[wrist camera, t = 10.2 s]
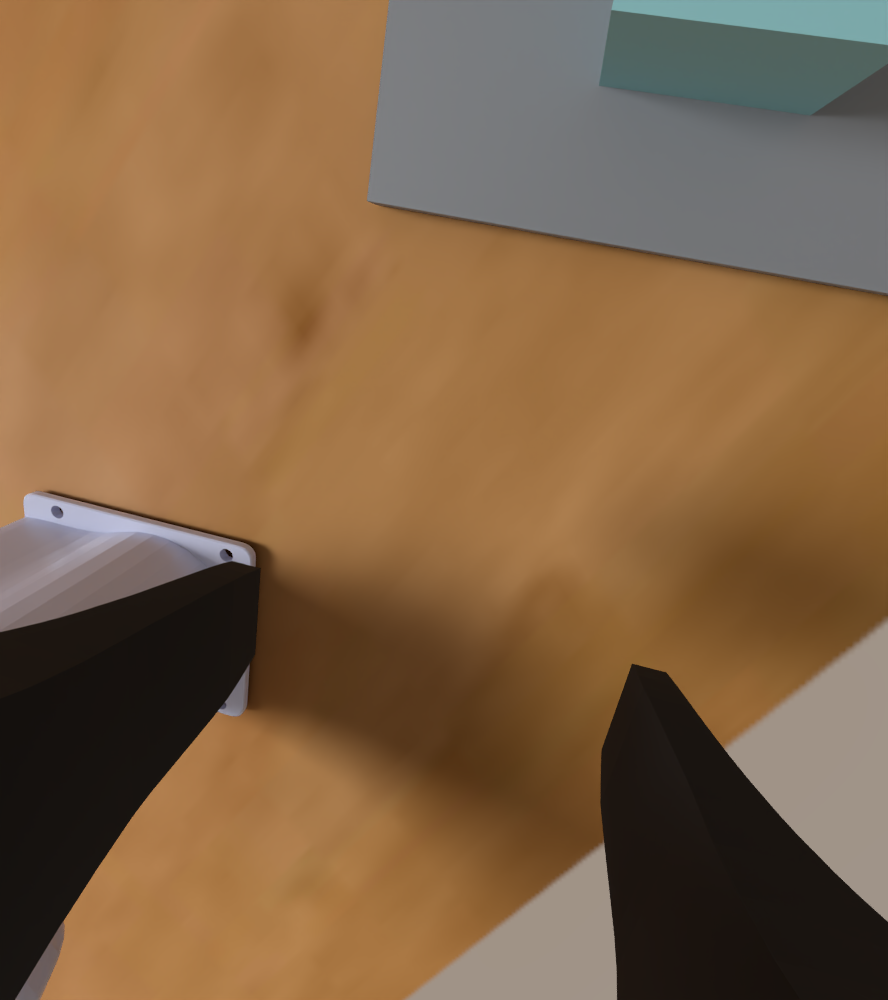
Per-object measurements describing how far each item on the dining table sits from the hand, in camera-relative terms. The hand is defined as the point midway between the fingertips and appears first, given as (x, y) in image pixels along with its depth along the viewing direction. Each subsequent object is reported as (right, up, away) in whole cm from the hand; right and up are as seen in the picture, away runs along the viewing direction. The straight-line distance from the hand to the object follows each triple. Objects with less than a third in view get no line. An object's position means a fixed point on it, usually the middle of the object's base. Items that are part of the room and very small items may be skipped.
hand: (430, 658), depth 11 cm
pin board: (+7, +15, +3) cm, 17 cm away
